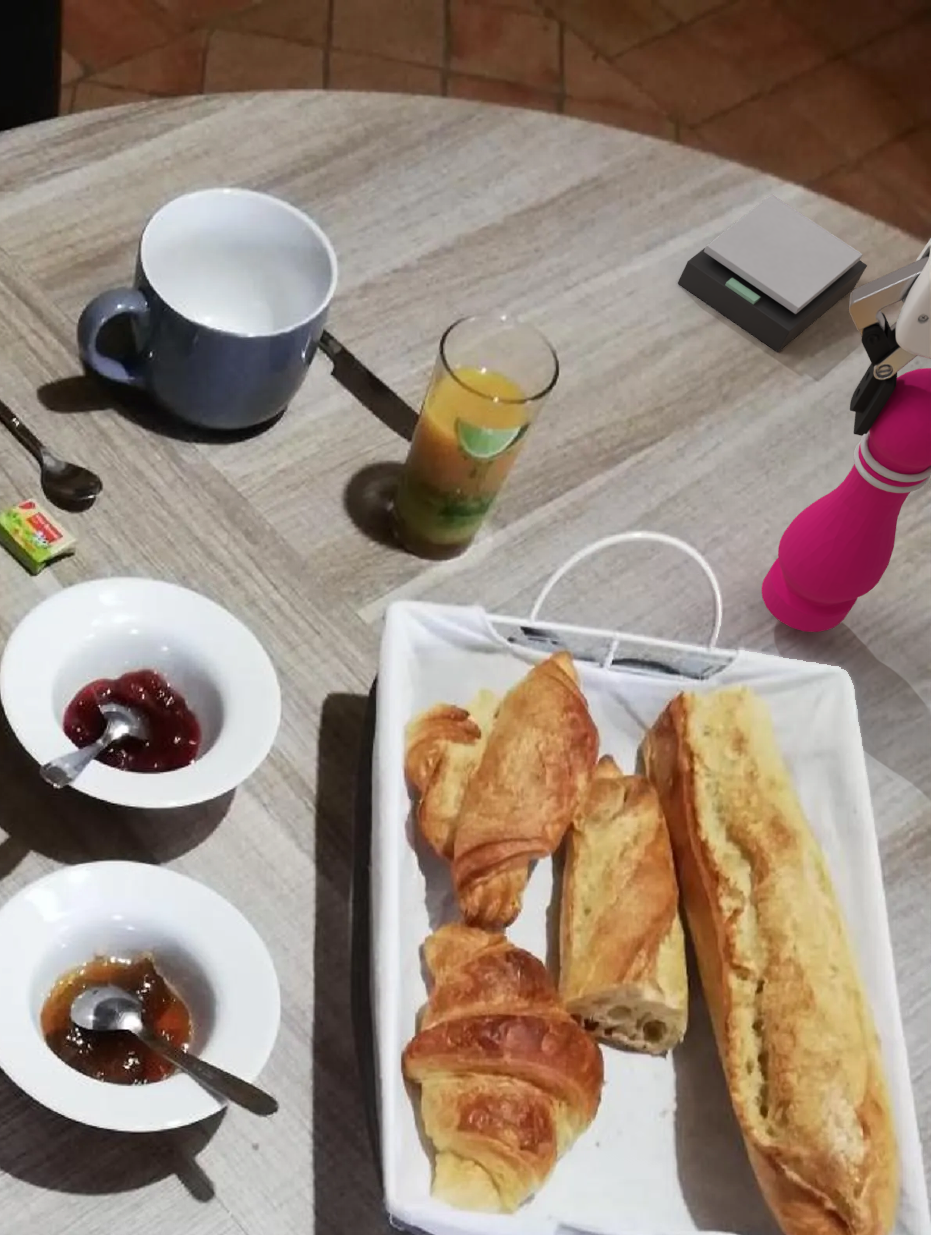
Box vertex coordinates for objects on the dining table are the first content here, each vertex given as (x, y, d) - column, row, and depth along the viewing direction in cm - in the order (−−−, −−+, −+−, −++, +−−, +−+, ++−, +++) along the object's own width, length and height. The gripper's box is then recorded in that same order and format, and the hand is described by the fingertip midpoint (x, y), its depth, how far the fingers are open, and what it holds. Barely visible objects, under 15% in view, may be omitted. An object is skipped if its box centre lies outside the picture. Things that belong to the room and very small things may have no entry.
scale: (854, 286, 133) (875, 251, 130) (777, 352, 129) (797, 317, 127) (755, 220, 135) (773, 184, 132) (677, 283, 132) (693, 247, 129)
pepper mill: (794, 543, 120) (943, 302, 101) (874, 603, 118) (1040, 368, 99) (733, 593, 117) (873, 356, 99) (813, 655, 116) (972, 425, 97)
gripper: (925, 169, 86) (772, 443, 103) (1256, 241, 85) (1048, 506, 102) (931, 80, 89) (782, 360, 106) (1252, 149, 88) (1050, 421, 105)
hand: (914, 429), depth 104 cm, fingers closed on pepper mill, 6 cm apart
